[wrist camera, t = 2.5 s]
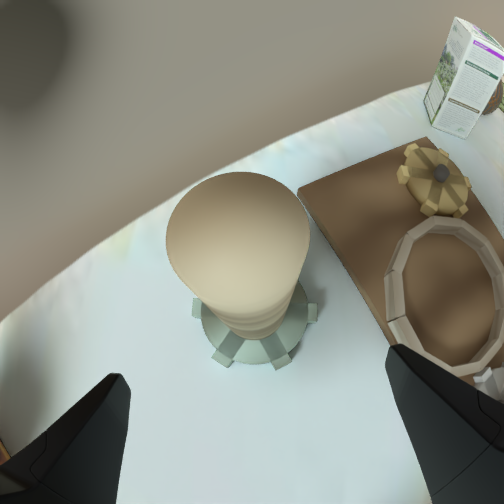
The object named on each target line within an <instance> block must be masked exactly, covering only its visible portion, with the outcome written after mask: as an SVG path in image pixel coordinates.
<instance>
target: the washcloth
mask: <svg viewBox="0 0 504 504" xmlns="http://www.w3.org/2000/svg"><path fill="white" fill-rule="evenodd" d="M502 85H503V98H502V101H501V103H500V105H499V106H498V107H499V108H500V109H501V110H502V111H503V112H504V83H503V82H502Z"/></svg>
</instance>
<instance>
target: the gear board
mask: <svg viewBox="0 0 504 504" xmlns="http://www.w3.org/2000/svg"><path fill="white" fill-rule="evenodd" d="M448 157H449V154H448V153H446V152H445V151H443V150H442V149H440V148H439V150H438V149H437V147H436V146H435V145H434V144H433V143H432V142H431V141H430V140H429V139H428V138H427V137H424V138H421V139H418V140H415V141H413V142H410V143H408V144H405V145H402V146H400V147H397V148H395V149H392V150H389V151H387V152H384V153H382V154H379V155H377V156H374V157H372V158H369V159H367V160H364V161H362V162H359V163H357V164H355V165H352V166H350V167H347V168H345V169H342V170H340V171H338V172H335V173H333V174H330V175H328V176H326V177H323V178H321V179H319V180H316V181H314V182H312V183H309V184H307V185H305V186H302V187H300V188H298V192H297V196H298V197H299V199H300V200H301V202H302V203H303V205H304V206H305V207H306V209H307V210H308V212H309V213H310V215H311V216H312V218H313V219H314V221H315V222H316V224H317V225H318V227H319V228H320V230H321V231H322V233H323V234H324V236H325V237H326V239H327V240H328V242H329V243H330V245H331V246H332V248H333V250H334V251H335V253H336V254H337V256H338V257H339V259H340V261H341V262H342V264H343V265H344V267H345V269H346V270H347V272H348V273H349V275H350V277H351V278H352V280H353V281H354V283H355V285H356V286H357V288H358V290H359V291H360V293H361V295H362V296H363V298H364V300H365V302H366V303H367V305H368V307H369V308H370V310H371V312H372V314H373V315H374V317H375V319H376V321H377V322H378V324H379V326H380V328H381V329H382V331H383V333H384V335H385V337H386V338H387V340H388V342H389V344H390V346H391V345H395V344H398V343H402V344H404V345H405V346H407V347H409V348H410V349H412V350H414V351H415V352H417V353H419V354H420V355H422V356H424V357H425V358H427V359H429V360H430V361H432V362H434V363H435V364H437V365H439V366H440V367H442V368H444V369H445V370H447V371H449V372H450V373H452V374H454V375H455V376H457V377H458V378H460V379H462V380H463V381H465V382H467V383H468V384H470V385H472V386H473V387H475V388H477V390H480V391H482V392H483V393H485V394H487V395H489V396H490V397H492V398H494V399H496V400H498V401H500V402H502V403H504V239H503V238H502V236H501V234H500V233H499V231H498V229H497V228H496V226H495V224H494V223H493V221H492V220H491V218H490V217H489V215H488V214H487V212H486V211H485V209H484V208H483V206H482V205H481V203H480V202H479V200H478V199H477V197H476V196H475V195H474V193H473V192H472V191H471V188H472V187H471V184H470V182H469V179H468V177H464V176H463V175H462V173H461V171H460V170H459V169H458V167H457V166H456V165H455V164H454V163H453V162H452V161H451V160H450V159H449V158H448Z"/></svg>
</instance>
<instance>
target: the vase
mask: <svg viewBox="0 0 504 504" xmlns="http://www.w3.org/2000/svg"><path fill="white" fill-rule="evenodd" d="M502 98H503V85H502V80H500V81H499V83H498V85H497V87H496V89H495V91H494V93H493V94H492V96H491V98H490V100H489V102H488V103H487V105H486V107H485V109H484V110H483V112H482V114H489V113H492V112H493V111H495V110H496V109H497V108H498V106H499V105H500V103H501V101H502Z"/></svg>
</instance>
